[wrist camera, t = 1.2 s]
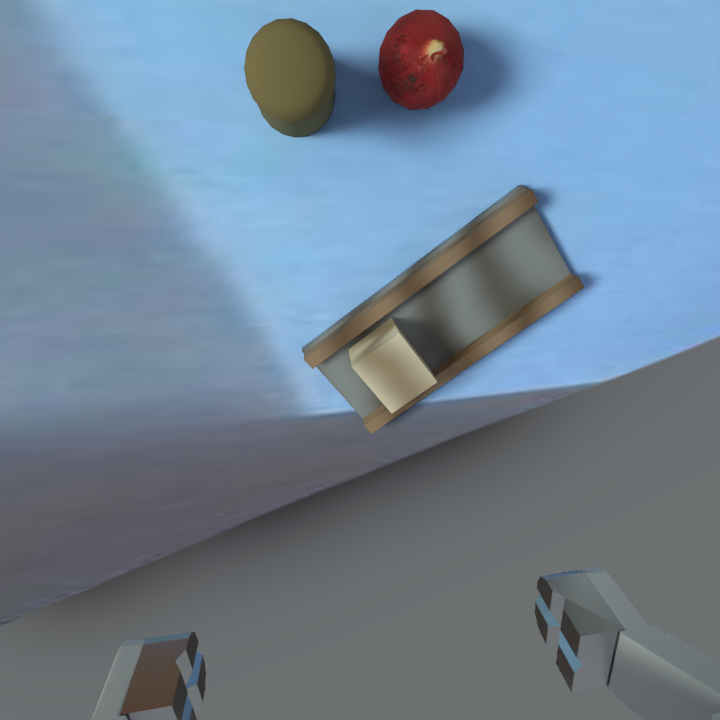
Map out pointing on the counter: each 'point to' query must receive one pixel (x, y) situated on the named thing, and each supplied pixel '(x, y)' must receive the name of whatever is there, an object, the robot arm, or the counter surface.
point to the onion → (420, 59)
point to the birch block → (391, 366)
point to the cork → (291, 76)
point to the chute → (455, 301)
